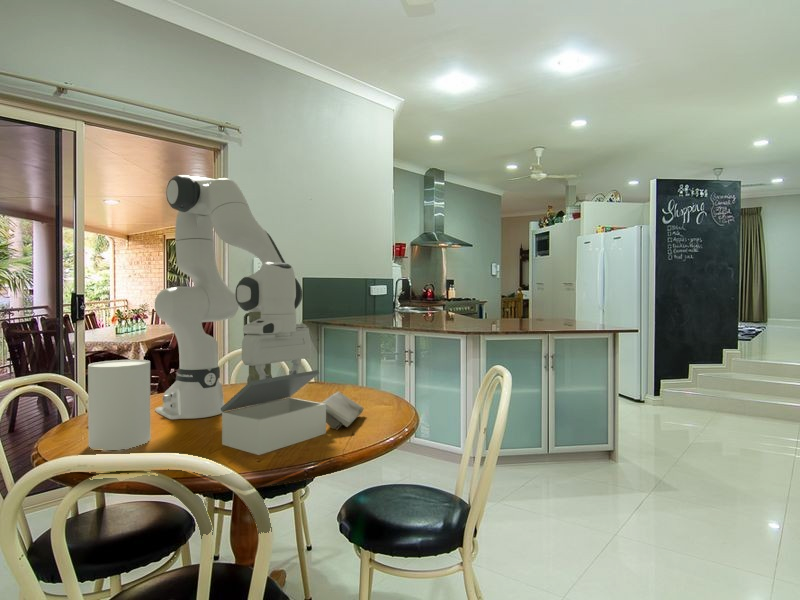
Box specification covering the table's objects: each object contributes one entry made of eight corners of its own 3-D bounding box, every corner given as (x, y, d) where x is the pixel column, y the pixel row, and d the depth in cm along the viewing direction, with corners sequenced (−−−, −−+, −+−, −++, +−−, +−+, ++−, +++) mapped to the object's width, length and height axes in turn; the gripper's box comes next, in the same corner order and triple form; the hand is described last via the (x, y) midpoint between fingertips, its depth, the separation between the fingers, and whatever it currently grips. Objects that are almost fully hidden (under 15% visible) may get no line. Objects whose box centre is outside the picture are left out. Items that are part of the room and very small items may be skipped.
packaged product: (357, 421, 152) (330, 402, 153) (365, 408, 151) (338, 389, 153) (341, 437, 134) (310, 416, 135) (350, 422, 134) (320, 401, 135)
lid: (221, 411, 124) (220, 408, 124) (290, 397, 142) (288, 394, 142) (251, 385, 117) (250, 381, 117) (319, 373, 135) (317, 370, 135)
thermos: (272, 398, 179) (272, 300, 178) (240, 398, 179) (239, 300, 179) (279, 393, 188) (279, 300, 187) (248, 393, 188) (247, 300, 188)
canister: (137, 432, 135) (136, 358, 135) (160, 441, 126) (159, 362, 126) (80, 443, 125) (79, 363, 124) (100, 455, 116) (100, 368, 116)
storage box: (222, 444, 124) (222, 412, 124) (290, 425, 142) (290, 397, 142) (258, 455, 116) (258, 420, 115) (326, 433, 133) (325, 403, 133)
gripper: (300, 323, 138) (301, 373, 138) (237, 326, 121) (237, 384, 121) (316, 323, 134) (317, 375, 134) (254, 327, 118) (254, 386, 118)
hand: (279, 379), depth 128 cm, fingers open, 8 cm apart
